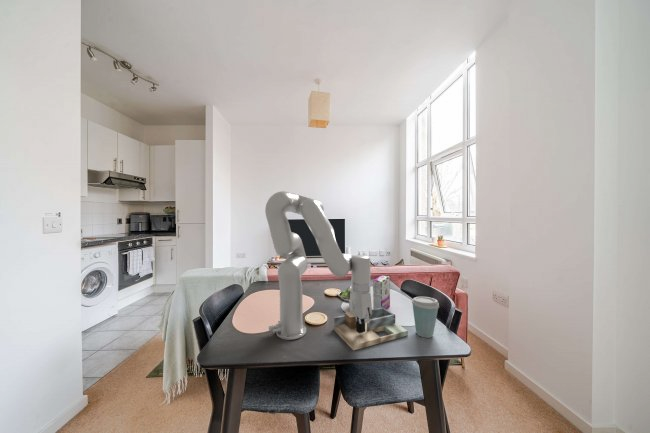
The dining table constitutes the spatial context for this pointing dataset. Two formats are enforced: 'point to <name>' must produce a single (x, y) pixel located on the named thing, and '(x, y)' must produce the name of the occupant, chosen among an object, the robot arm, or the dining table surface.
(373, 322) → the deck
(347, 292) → the salad plate
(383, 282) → the candy bar box
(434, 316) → the disposable coffee cup
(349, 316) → the walnut block
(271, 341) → the dining table surface
